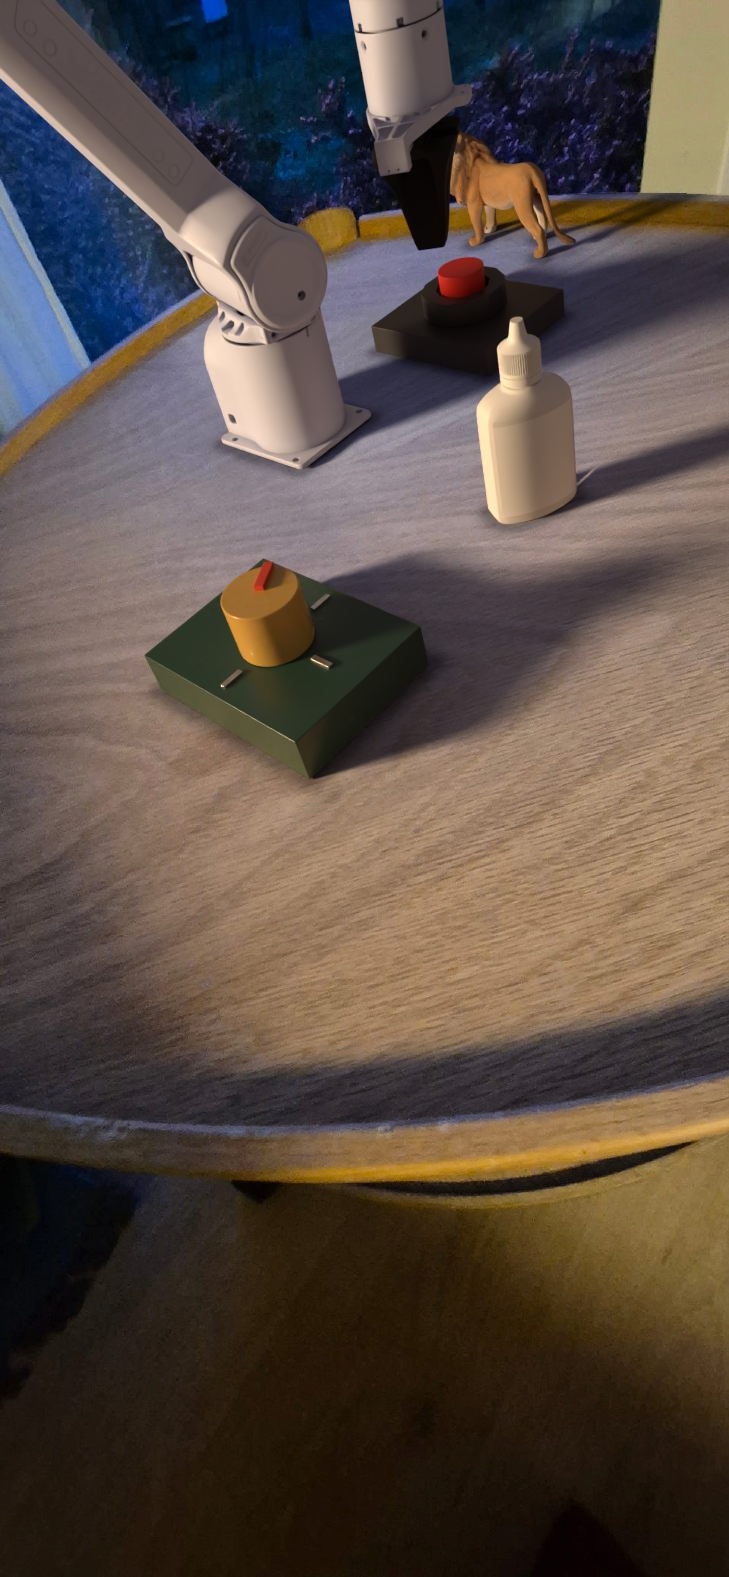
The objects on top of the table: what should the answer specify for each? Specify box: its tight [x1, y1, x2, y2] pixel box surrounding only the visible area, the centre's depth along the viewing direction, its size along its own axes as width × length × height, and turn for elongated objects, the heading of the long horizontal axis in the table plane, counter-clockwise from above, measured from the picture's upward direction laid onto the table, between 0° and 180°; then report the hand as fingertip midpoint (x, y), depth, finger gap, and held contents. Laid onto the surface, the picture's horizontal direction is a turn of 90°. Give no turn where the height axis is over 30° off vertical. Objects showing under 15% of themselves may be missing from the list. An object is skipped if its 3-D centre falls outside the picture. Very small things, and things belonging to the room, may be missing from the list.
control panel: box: [143, 558, 430, 780], centre depth 54 cm, size 13×10×3 cm
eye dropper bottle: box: [476, 317, 578, 525], centre depth 57 cm, size 4×6×12 cm
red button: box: [437, 256, 486, 298], centre depth 74 cm, size 4×4×2 cm
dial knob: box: [221, 561, 315, 667], centre depth 52 cm, size 4×4×4 cm
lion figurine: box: [450, 129, 577, 259], centre depth 84 cm, size 15×5×9 cm, turn 50°
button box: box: [371, 265, 566, 378], centre depth 76 cm, size 12×10×4 cm
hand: (432, 245), depth 70 cm, fingers closed
